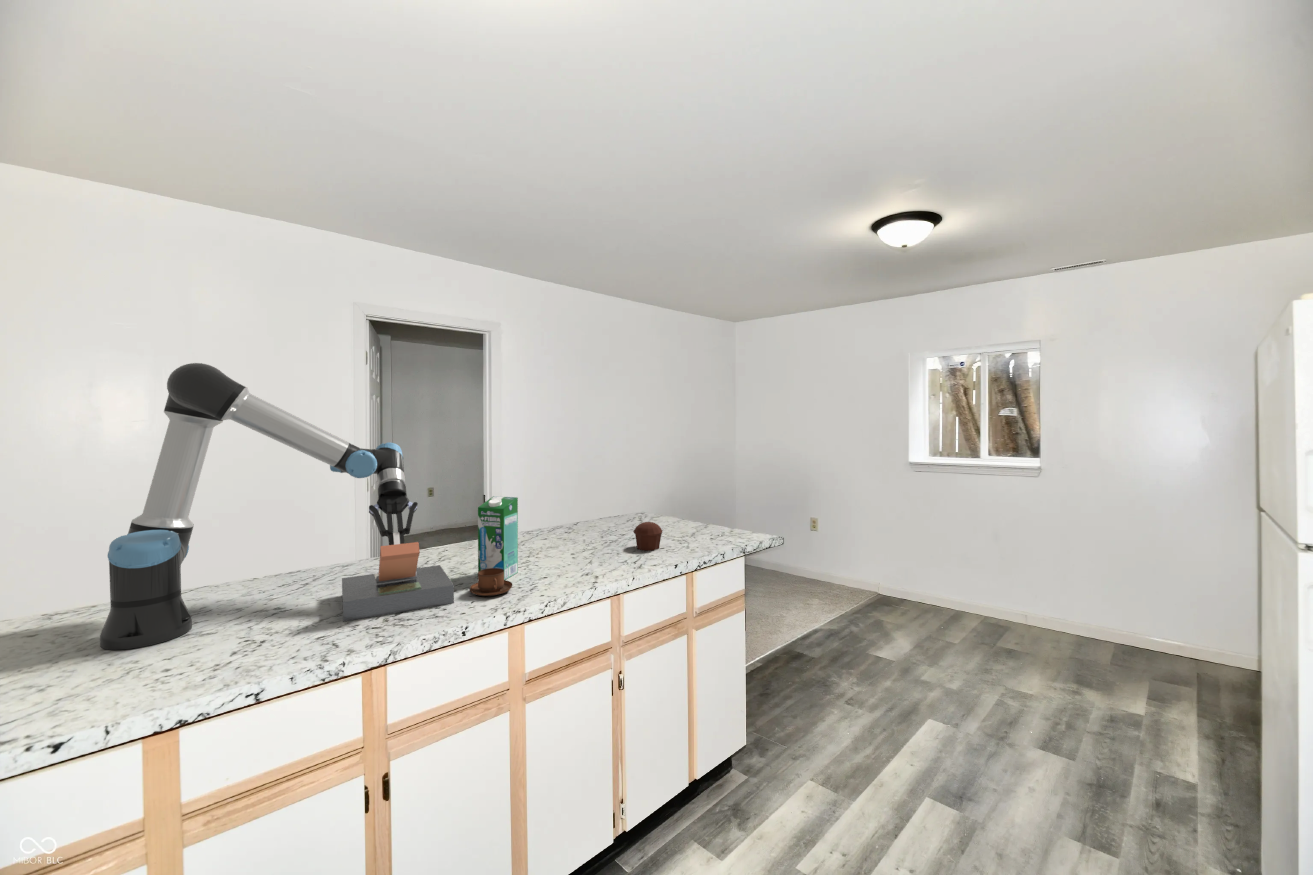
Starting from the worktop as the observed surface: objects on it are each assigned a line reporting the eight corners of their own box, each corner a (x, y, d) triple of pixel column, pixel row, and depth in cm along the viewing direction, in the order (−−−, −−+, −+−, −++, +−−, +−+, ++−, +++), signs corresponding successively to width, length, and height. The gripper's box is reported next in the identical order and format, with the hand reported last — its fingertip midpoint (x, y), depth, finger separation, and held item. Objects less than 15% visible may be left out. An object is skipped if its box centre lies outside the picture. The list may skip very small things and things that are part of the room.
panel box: (342, 595, 148) (341, 577, 148) (439, 580, 162) (439, 564, 161) (343, 621, 129) (343, 600, 129) (453, 602, 143) (453, 583, 143)
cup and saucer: (520, 591, 153) (520, 570, 153) (484, 602, 144) (484, 580, 144) (497, 583, 161) (497, 563, 160) (461, 593, 151) (461, 572, 151)
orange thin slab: (376, 576, 144) (378, 546, 135) (415, 571, 149) (420, 541, 140) (376, 587, 142) (379, 556, 133) (416, 581, 148) (421, 551, 138)
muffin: (650, 542, 213) (650, 518, 213) (668, 548, 205) (668, 523, 204) (627, 547, 205) (627, 522, 205) (644, 553, 197) (645, 526, 197)
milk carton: (477, 578, 164) (477, 499, 163) (493, 570, 173) (493, 495, 172) (503, 580, 162) (503, 501, 161) (518, 572, 171) (517, 496, 170)
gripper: (414, 493, 162) (422, 559, 148) (366, 496, 155) (370, 565, 141) (416, 478, 157) (424, 544, 143) (367, 480, 150) (370, 550, 137)
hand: (397, 555), depth 142 cm, fingers closed
